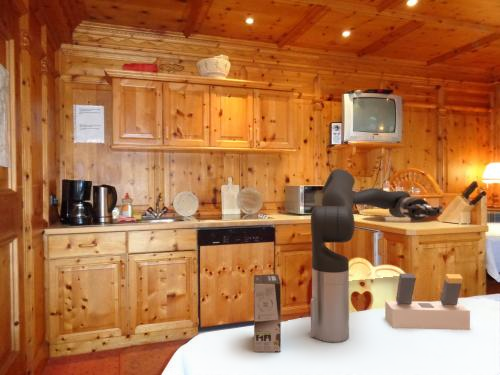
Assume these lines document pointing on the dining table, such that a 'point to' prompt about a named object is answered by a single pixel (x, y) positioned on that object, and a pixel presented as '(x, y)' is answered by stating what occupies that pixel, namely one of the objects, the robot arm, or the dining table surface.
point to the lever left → (405, 289)
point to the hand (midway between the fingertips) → (432, 213)
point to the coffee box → (267, 313)
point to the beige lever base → (427, 315)
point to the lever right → (451, 289)
